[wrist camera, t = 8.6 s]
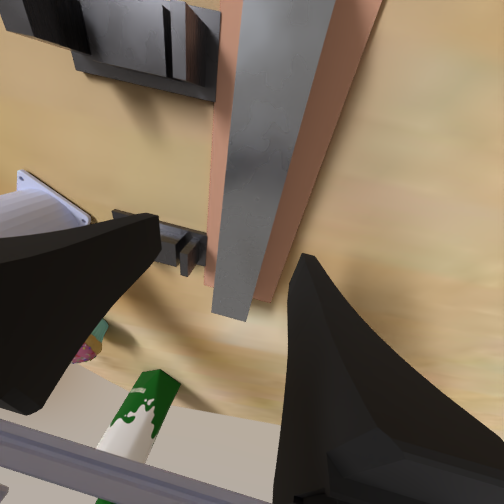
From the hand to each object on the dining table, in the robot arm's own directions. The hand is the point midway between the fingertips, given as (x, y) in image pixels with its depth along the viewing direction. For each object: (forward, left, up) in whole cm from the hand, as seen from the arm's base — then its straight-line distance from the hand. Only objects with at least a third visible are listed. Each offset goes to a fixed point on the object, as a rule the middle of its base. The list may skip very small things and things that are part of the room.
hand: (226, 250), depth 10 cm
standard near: (+2, +12, -10) cm, 16 cm away
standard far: (-12, +4, -10) cm, 16 cm away
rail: (0, 0, -10) cm, 10 cm away
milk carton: (-50, -13, -10) cm, 52 cm away
